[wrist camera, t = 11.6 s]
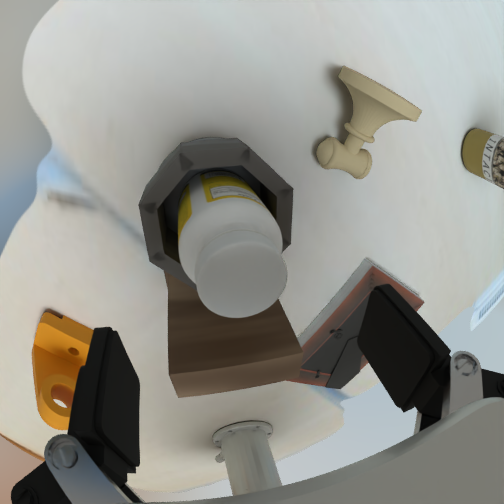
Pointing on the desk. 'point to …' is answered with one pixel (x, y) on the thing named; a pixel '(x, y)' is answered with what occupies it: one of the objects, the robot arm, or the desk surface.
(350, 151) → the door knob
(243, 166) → the cup bracket
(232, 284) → the supplement bottle
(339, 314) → the picture frame
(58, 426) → the bracket
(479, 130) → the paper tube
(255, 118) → the desk surface
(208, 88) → the desk surface
